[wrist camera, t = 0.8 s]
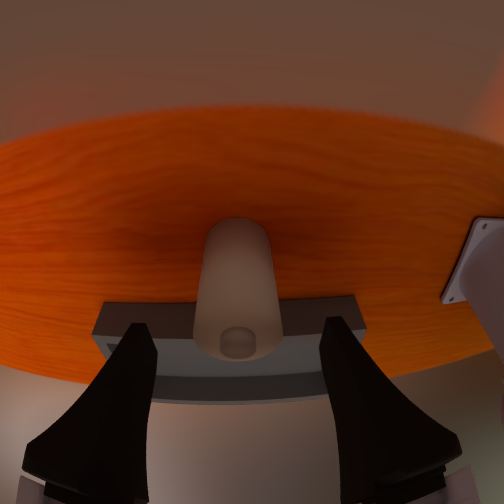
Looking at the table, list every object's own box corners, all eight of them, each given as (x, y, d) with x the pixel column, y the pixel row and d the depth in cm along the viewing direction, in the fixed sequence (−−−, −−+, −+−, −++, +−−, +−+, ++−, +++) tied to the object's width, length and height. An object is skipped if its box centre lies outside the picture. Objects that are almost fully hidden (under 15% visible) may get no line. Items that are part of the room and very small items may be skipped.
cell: (270, 216, 16) (288, 317, 10) (268, 269, 18) (281, 370, 12) (202, 218, 16) (183, 320, 10) (208, 271, 18) (199, 373, 12)
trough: (354, 295, 20) (367, 328, 17) (329, 368, 25) (335, 396, 23) (103, 302, 19) (91, 334, 17) (140, 373, 25) (135, 400, 22)
